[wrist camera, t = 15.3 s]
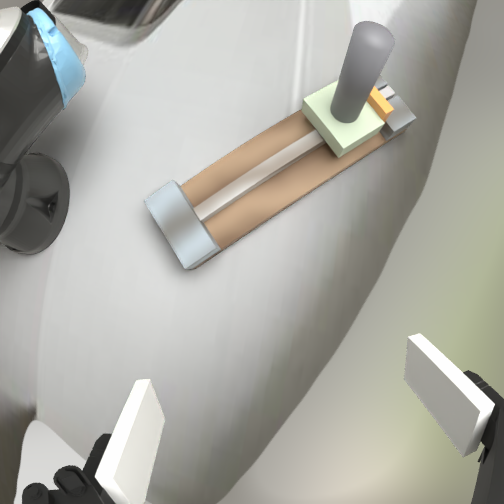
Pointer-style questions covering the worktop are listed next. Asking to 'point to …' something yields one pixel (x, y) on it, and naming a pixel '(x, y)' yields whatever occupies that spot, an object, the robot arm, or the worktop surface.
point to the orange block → (381, 101)
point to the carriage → (352, 91)
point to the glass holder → (60, 29)
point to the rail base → (275, 186)
